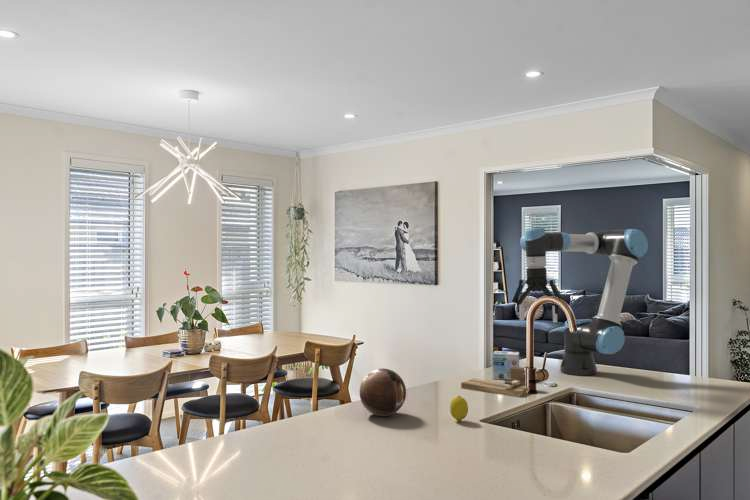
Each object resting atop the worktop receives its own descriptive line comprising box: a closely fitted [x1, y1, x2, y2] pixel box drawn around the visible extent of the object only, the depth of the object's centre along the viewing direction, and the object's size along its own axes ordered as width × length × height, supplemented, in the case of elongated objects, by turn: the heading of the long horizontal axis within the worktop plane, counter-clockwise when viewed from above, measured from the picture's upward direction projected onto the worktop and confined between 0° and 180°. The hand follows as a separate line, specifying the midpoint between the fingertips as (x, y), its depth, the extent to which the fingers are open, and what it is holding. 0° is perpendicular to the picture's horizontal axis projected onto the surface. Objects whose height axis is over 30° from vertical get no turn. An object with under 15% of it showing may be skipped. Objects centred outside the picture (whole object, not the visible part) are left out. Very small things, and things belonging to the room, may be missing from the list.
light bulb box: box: [492, 350, 520, 381], centre depth 246 cm, size 11×7×11 cm, turn 73°
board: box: [460, 378, 528, 398], centre depth 225 cm, size 10×24×2 cm, turn 52°
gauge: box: [504, 366, 525, 389], centre depth 223 cm, size 14×6×8 cm, turn 142°
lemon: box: [449, 395, 469, 422], centre depth 183 cm, size 6×6×8 cm
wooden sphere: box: [359, 368, 407, 417], centre depth 191 cm, size 15×15×15 cm
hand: (538, 321), depth 231 cm, fingers open, 13 cm apart
